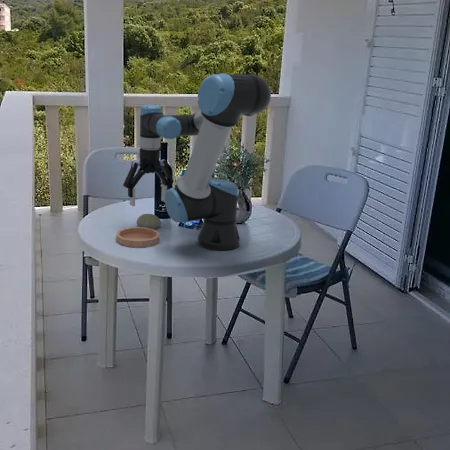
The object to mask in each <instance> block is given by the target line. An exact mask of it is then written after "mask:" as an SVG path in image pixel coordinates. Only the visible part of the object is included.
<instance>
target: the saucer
mask: <svg viewBox="0 0 450 450" xmlns="http://www.w3.org/2000/svg"><path fill="white" fill-rule="evenodd" d="M115 235H116V236H115V237H116V242H117V243H118V245H121V246H123V247H127V248H135V247H136V248H135V249H137V247H138V248H139V247H141V248H149V246H150V247H154V246H155V245H158V243H159V242H160V232H159V231H157V230H155V229H149V228H144V227H138V226H136V227H135V226H132V227H127V228H122V229H119V230H117V231H116V234H115Z"/></svg>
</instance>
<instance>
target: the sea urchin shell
mask: <svg viewBox="0 0 450 450" xmlns="http://www.w3.org/2000/svg"><path fill="white" fill-rule="evenodd" d="M161 224H162V221H161V219H160V217H159V216H157V215H155V214H152V213H143V214H141V215H139V217H137V220H136V227H144V228H149V229H154V230H155V229H158V228H160V226H161Z"/></svg>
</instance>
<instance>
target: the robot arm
mask: <svg viewBox="0 0 450 450" xmlns="http://www.w3.org/2000/svg"><path fill="white" fill-rule="evenodd" d="M271 95H272V94H271V88H270V85H269V84H268V83H267V81H266V80H264V78H263V77H261V76H258V75H255V74H233V73H231V74H229V73H214V74H210V75H208V76H207V77H205V78H204V80H203V81H202V82H201V83H200V85H199V88H198V91H197V98H198V100H197V105H198V107H199V111H196V112H195V113H193V114H171V115H170V114H167V115H166V114H163V111H162V107H161V106H160V105H154V104H144V105H142V106H141V107H140V115H139V122H140V123H139V147H140V148H139V155H138V156H139V162H135V161H132V162H131V166H130V169H129V171H128V172H127V175H126V178H125V180H124V182H123V185H122V186H123V187H124V188H126V189H127V196H128V197H129V205H130V206H132V207H135V206H136V188H135V187H136V185H137V184H138V183H139V181H140V180H141V179H142V178H143V176H145V175H146V174H154V173H155V174H156V175H157V177H158V178H159V179H160V180H161V182H162V184H161V197H160V200H161V202H164V204H165V209H166V211H167V214H168V216H169V217H170V219H171V220H172V221H174V222H175V223H188V222H192V221H199V220H202V221H203V222H202V225H201V228H200V230H199V233H198V234H197V235H198V236H197V244H198V246H200V247H202V248H204V249H208V250H212V251H213V250H214V251H231V250H234V249H237V248H238V247H239V246H240V244H241V243H240V242H241V238H240V235H239V230H238V227H237V213H238V212H237V211H238V200H239V187H238V184H236V183H234V182H233V181H230V180H225V179H220V178H212V176H213V174H214V172H215V168H216V166H217V164H218V162H219V159H220V155H221V153H222V150H223V148H224V146H225V142H226V140H227V137H228V135H229V132H230V129H232V128H234V127H236V126H237V125H238V122H239V120H240V118H242V117H244V116H245V117H252V116H255V115H257V114H259V113H262V112H263V111H265V110H266V109H267V108H268V106H269V104H270V102H271V98H272V97H271ZM187 136H188V137H189V136H190V137H191V136H193V137H194V136H196V140H195V143H194V146H193V149H192V152H191V154H190V157H189V160H188V164H187V166H186V169H185V172H184V174H183V176H180V177H179V178H178V179H177V181H176V184H175V187H174V188H173V187H171V188H170V186H171V184H173V183H175V182H174V179H173V176H172V174H171V171H170V170H169V167H168V161H167V160H166V159H163V158H161V149H160V148H161V138H163V139H167V140H168V139H169V140H173V139H176V138H177V137H187ZM160 159H161V160H160ZM159 166H161V168H162V170H163V172H162V170H161V169H160V168H159ZM138 168H139V169H138ZM163 173H164V174H163Z"/></svg>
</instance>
